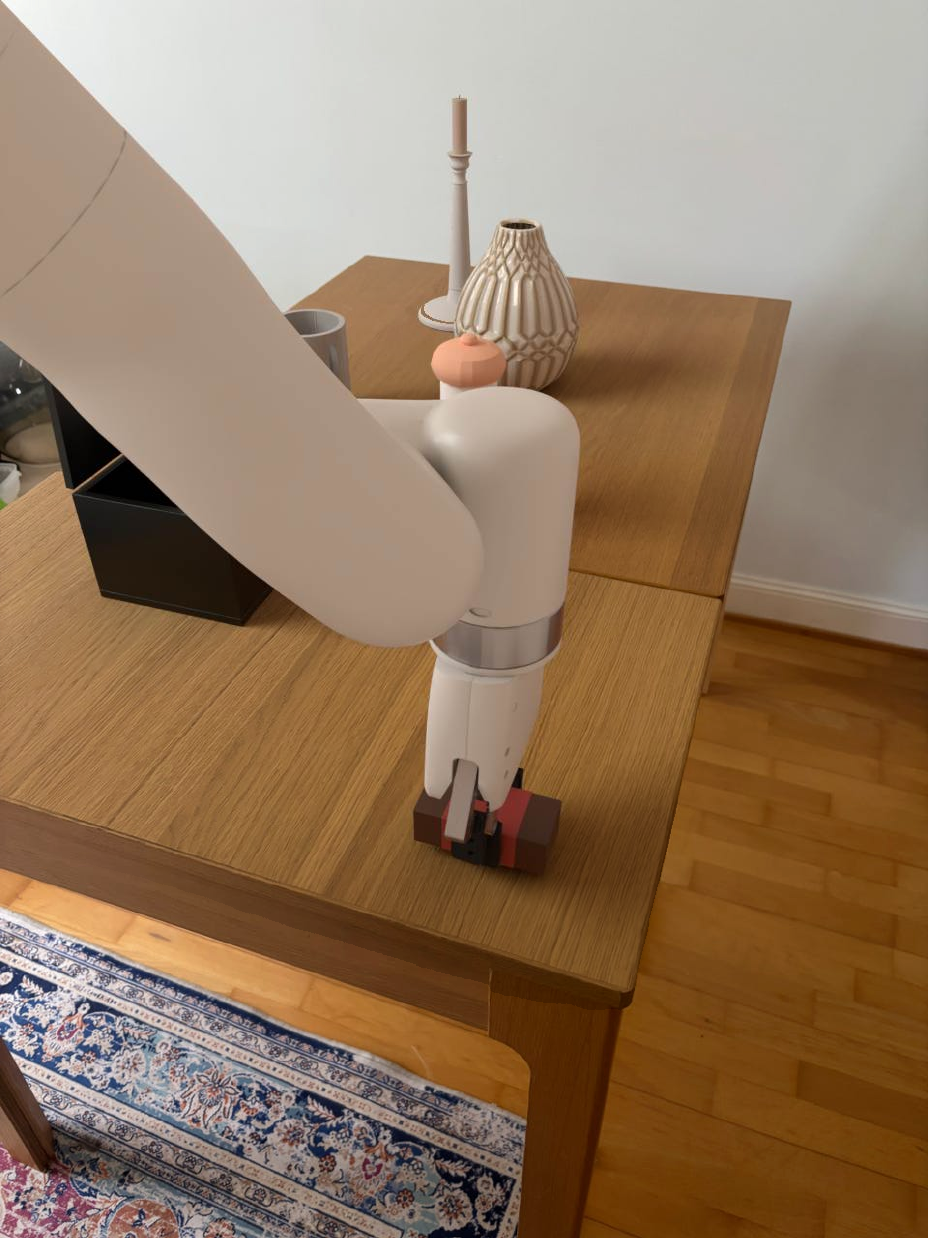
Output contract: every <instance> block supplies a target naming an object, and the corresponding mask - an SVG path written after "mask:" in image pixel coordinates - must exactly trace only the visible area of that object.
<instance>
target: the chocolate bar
mask: <svg viewBox="0 0 928 1238" xmlns="http://www.w3.org/2000/svg"><path fill="white" fill-rule="evenodd" d="M453 781H454V777H453ZM453 781H452V782H451V784H450V786H449V787H448V789H447V790H446V792H445V793H444V795H443V796H442V798H441V799H438V798H434V797H431V796H429V795H428V794H427V792H426V790H425V785H423V786H424V787H423V789H422V791H421V793H420V795H419V797H418V799H417V800H416V803H415V805H414V807H413V809H412V824H413V827H412V828H413V841H417V842H419V843H424V844H427V845H431V846H434V847H438V848H441V849H442V850H444V851H449V852H451V840H448V839H445V838H444V833H445V828H446V822H447V817H448V812H449V807H450V802H451V796H452V791H453ZM562 803H563V801H562V800H561V799H558V798H557V799H556V798H553V797H549V796H546V795H542V794H538V793H533V791H531V790H526V789H523V788H522V789H518V788H514V787H511V788H510V790H509V792H508V795H507V797H506V799H505V801H504V803H503V805H502V806H501V807H500V808H499V811H498V821H500V822H501V823H502V839H501V856H500V862H499V865H500V866H503V867H507V868H510V869H514V868H515V869H519V870H523V871H527V872H530V873H534V874H537V875H541V876H544V875H545V874H546V871H547V867H548V864H549V861H550V858H551V855H552V852H553V849H554V845H555V842H556V839H557V836H558V834H559V829H560V821H561V811H562ZM486 805H487V802H484V801H480V800H476V802H475V807H474V809H475V810H478V811H482V812H486V808H487V807H486Z"/></svg>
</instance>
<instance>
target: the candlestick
mask: <svg viewBox="0 0 928 1238" xmlns="http://www.w3.org/2000/svg"><path fill="white" fill-rule="evenodd" d="M451 105H452V107H451V112H452V113H451V116H452V117H451V119H452V120H451V121H452V122H451V123H452V124H451V125H452V128H451V129H452V150H451V151H447V152H446V155H447V156H448V157H449V158H450V162H449V163H450V164H449V165H450V168H451V169H452V170H453V171H452V173H453V180H452V181H451V182H452V183H451V184H452V192H451V193H452V195H451V196H452V197H451V200H452V201H451V219H450V221H451V222H450V243H449V244H450V245H449V246H450V249H449V271H448V272H449V273H448V285H447V286H448V291H447V295H443V296H438V297H436V298H432V299H430V300H429V301H428V303H427V302H425V303H424V305H425V306H424V311H425V313H426V314H427V315H429V316H430V317H432V318H434V319H437V320H441V321H445V322H454V317H455V312H456V308H457V304H458V300H459V297H460V294H461V292H462V289H463V287H464V285H465V283H466V281H467V279H468V277H469V276H470V274H471V273H472V266H471V247H470V246H471V245H470V222H469V221H470V220H469V203H468V202H469V201H468V199H469V198H468V181H467V179H466V176H467V175H466V174H467V169H469V167H470V158H471V156H473V154H474V153H473V152H472V151H469V150H468V98H466V97H461V94H459V96H458V97H454V98H451ZM421 308H422V306H421V307H420V308H419V310H418V313H417V318H418V320H419V322H420V323H422V325H424V326H427V327H428V328H430V329H434V330H438V331H442V332H443V331H444V332H453V333H454V324H446V323H440V322H436V321H432V320H430V319H428V318H426V317H424V316H423V315H422V314H421Z"/></svg>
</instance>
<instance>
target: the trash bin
mask: <svg viewBox="0 0 928 1238" xmlns="http://www.w3.org/2000/svg"><path fill="white" fill-rule="evenodd" d="M71 498H72V500H73V503H74V507H75V511H76V515H77V518H78V522H79V524H80V528H81V532H82V535H83V539H84V542H85V545H86V549H87V552H88V556H89V559H90V563H91V566H92V570H93V573H94V576H95V581H96V583H97V587H98V589H99V593H100V596H101V597H102V598H108V599H112V600H117V601H120V602H126V603H131V604H135V605H140V606H145V607H149V608H155V609H158V610H164V611H167V612H168V611H169V612H173V613H176V614H177V613H178V614H182V615H187V616H192V617H196V618H200V619H205V620H211V621H215V622H219V623H225V624H229V625H233V626H238V627H243V626H244V625H245V624H246V623H247V622H248V621H249V619H250V618H251V617H252V616H253V615H254V614H255V612H256V611H257V610H258V609H259V608H260V606H261V605H262V604H263V603H264V601H265V600H266V599H267V598H268V597H269V595H271V593H272V592H273V591H274V590H275V589H274V588H273V587H271V586H270V585H269V584H267V583H266V582H265V581H263V580H262V579H261V578H259V577H258V576H257V575H255V574H254V573H253V572H252V571H250V570H249V569H248V568H247V567H245V566H244V565H243V564H241V563H240V562H239V561H238V560H237V559H236V558H234V557H233V556H232V555H231V554H230V553H228V552H227V551H226V550H225V549H224V548H223V547H221V546H220V545H219V544H218V543H217V542H216V541H215V540H214V539H212V538H211V537H210V536H209V535H208V534H207V533H206V532H205V531H204V530H202V529H201V528H200V527H199V526H198V525H197V524H196V523H195V522H194V521H193V520H192V519H191V518H190V517H189V516H188V515H186V514H185V513H184V512H183V511H182V510H181V509H180V508H179V507H178V506H177V505H176V504H175V503H174V502H173V501H172V500H171V499H170V498H169V497H168V496H167V495H166V494H165V493H164V492H163V491H162V490H161V489H160V488H158V487H157V486H156V485H155V484H154V483H153V482H152V481H151V480H150V479H149V478H148V477H147V476H146V475H145V474H144V473H143V472H142V471H141V470H140V469H139V468H137V467H136V466H135V465H134V464H133V463H132V462H131V461H130V460H129V459H128V458H127V457H126V456H125V455H123V454H121V455H120V457H119V456H118V457H117V459H116V460H113V461H112V462H111V463H109V464H108V465H107V467H106V466H105V467H104V469H103V470H102V469H101V470H100V471H99V473H96V475H94V476H92V477H91V478H90V479H88V480H87V481H86V482H84V483H83V485H82V486H81V485H80V486H79V487H78V489H75V491H73V492H72V493H71Z"/></svg>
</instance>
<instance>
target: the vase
mask: <svg viewBox="0 0 928 1238" xmlns="http://www.w3.org/2000/svg"><path fill="white" fill-rule="evenodd" d="M573 292H574V291H573V290H572V286H571V285H570V282H569V280H568V278H567V276H566V275H565V272H564V271H563V268H562V267H561V266H560V263H558V261H557V259H556V258H555V256H554V254H552V252H551V250H550V249H549V246H548V243H547V239H546V236H545V231H544V227H543V225H542V223H541V222H539V221H537V220H534V219H530V218H520V217H519V218H518V217H517V218H516V217H515V218H508V219H503V220H500V221H499V222H498V223H497V224H496V226H495V229H494V231H493V235H492V239H491V241H490V243H489V246H488V248H487V250H486V251H485V253H484V254H483V256H481V258H480V259H479V261H478V262H477V263H476V265H475V266H474V268H473V269H472V270H471V274H470V276H469V277H468V279H467V281H466V283H465V285H464V287H463V289H462V292H461V294H460V297H459V300H458V304H457V308H456V312H455V317H454V332H453V337H454V338H458V337H461V336H462V335H463V334H465V333H472V334H475V335H476V337H480V338H483V339H486V340H489V341H492V342H494V343H496V344H497V345H498V346H499V347H500V349H501V350H502V352H503V353H504V355H505V359H506V368H505V371H504V373H503V375H502V377H501V378H500V379H499V380H498V381H497V387H500V386H502V387H517V388H524V389H530V390H534V391H537V392H541V391H542V390H543V389H545V388H547V387H548V386H549V385H552V383H554V382H555V381H556V380H557V379H558V378H559V377H560V376H562V374H563V373H564V371H565V370H566V368H567V367H568V365H569V364H570V361H571V360H572V358H573V355H574V354H575V351H576V350H575V349H576V347H577V344H578V343H577V342H578V338H579V331H580V321H579V313H578V307H577V302H576V299H575V296H574V293H573ZM454 338H453V339H454Z"/></svg>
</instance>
